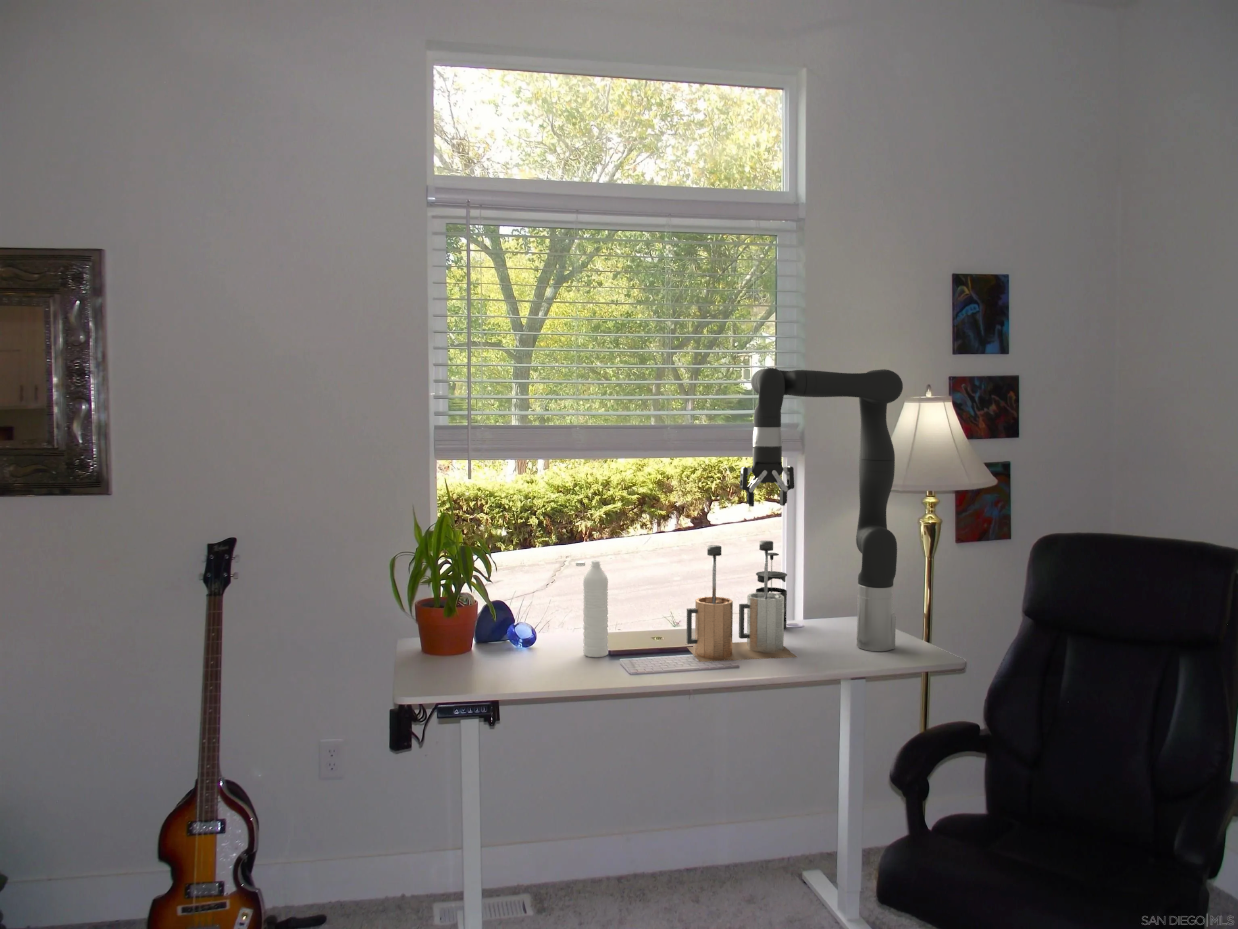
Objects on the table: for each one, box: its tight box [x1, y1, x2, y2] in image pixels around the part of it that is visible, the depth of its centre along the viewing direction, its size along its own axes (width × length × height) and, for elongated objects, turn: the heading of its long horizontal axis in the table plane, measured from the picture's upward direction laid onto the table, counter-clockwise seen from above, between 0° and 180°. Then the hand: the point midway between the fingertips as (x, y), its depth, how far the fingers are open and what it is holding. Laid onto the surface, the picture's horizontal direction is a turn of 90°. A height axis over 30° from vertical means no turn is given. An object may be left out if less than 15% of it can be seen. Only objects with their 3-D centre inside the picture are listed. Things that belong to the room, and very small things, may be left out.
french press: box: [755, 552, 788, 630], centre depth 255 cm, size 12×9×23 cm
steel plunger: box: [757, 540, 776, 599], centre depth 231 cm, size 7×7×16 cm
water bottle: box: [575, 560, 609, 658], centre depth 229 cm, size 9×6×25 cm
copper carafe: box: [686, 596, 734, 659], centre depth 226 cm, size 12×9×14 cm
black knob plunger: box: [706, 544, 722, 604], centre depth 226 cm, size 7×7×16 cm
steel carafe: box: [738, 592, 785, 653], centre depth 232 cm, size 12×9×14 cm
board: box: [686, 641, 798, 663], centre depth 230 cm, size 26×16×1 cm, turn 99°
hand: (766, 505), depth 230 cm, fingers open, 8 cm apart
